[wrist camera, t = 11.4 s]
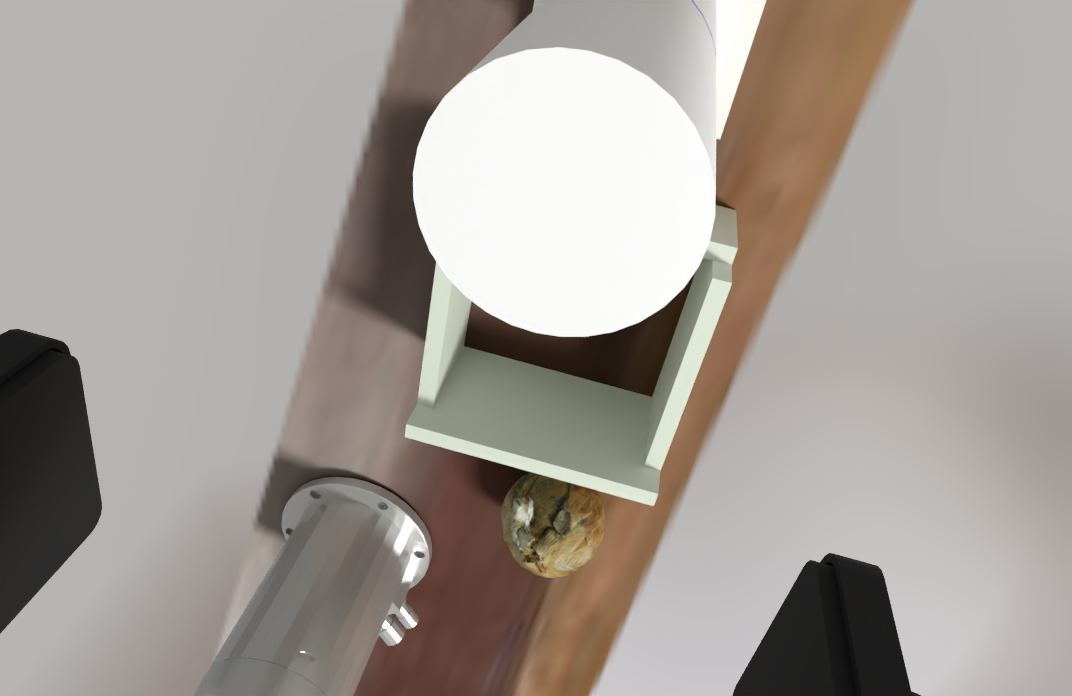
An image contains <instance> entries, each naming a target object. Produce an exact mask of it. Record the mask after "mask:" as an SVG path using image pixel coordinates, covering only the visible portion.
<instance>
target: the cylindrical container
mask: <svg viewBox="0 0 1072 696" xmlns="http://www.w3.org/2000/svg"><path fill="white" fill-rule="evenodd" d="M716 57H717V0H545V1H543V2H542V3H541V4H540V5H539V6H538V7H537V8H536V9H535V10H534V11H533V12H532V13H531V14H530V15H529V16H527V17H526V18H525V19H524V20H523V21H522V22H521V23H520V24H519V25H518V26H517V27H516V28H515V29H514V30H513V31H511V32H510V33H509V34H508V35H507V36H506V37H505V38H504V39H503V40H502V41H501V42H500V43H499V44H498V45H497V46H496V47H495V48H494V49H493V50H492V51H491V52H490V53H489V54H488V55H487V56H486V57H485V58H484V59H483V60H482V61H481V62H480V63H479V64H477V65H476V66H475V67H474V68H473V69H472V70H471V71H470V72H469V73H468V74H467V75H466V76H465V77H464V78H463V79H462V80H461V81H460V82H459V83H458V84H457V85H456V86H455V87H454V88H453V89H452V90H451V91H450V92H449V93H448V94H447V95H446V96H445V97H444V98H443V99H442V101H441V102H440V104H439V105H438V107H437V108H436V110H435V111H434V113H433V114H432V116H431V117H430V119H429V120H428V122H427V124H426V127H425V129H424V132H423V135H422V137H421V140H420V142H419V145H418V147H417V153H416V158H415V164H414V170H413V199H414V204H415V209H416V214H417V219H418V224H419V227H420V229H421V232H422V234H423V236H424V239H425V241H426V244H427V246H428V249H429V251H430V253H431V254H432V256H433V257H434V259H435V260H436V262H437V263H438V265H439V266H440V268H441V270H442V271H443V273H444V274H445V276H446V277H447V278H448V279H449V280H450V281H451V282H452V283H453V284H454V285H455V286H456V287H457V288H458V289H459V290H460V291H461V292H462V293H463V295H464V296H466V297H467V298H468V299H470V300H471V301H472V302H474V303H475V304H476V305H478V306H479V307H480V308H482V309H483V310H484V311H486V312H487V313H489V314H491V315H493V316H495V317H497V318H499V319H501V320H503V321H505V322H507V323H509V324H510V325H513V326H516V327H519V328H522V329H525V330H528V331H531V332H535V333H540V334H546V335H552V336H558V337H588V336H594V335H599V334H605V333H611V332H615V331H618V330H620V329H623V328H626V327H628V326H631V325H634V324H636V323H639V322H641V321H643V320H644V319H646V318H647V317H649V316H651V315H652V314H654V313H655V312H657V311H659V310H660V309H662V308H663V307H665V306H666V305H667V304H668V303H669V302H670V301H671V300H672V299H673V298H674V297H675V296H676V295H677V294H678V293H679V292H680V291H681V290H683V289H684V287H685V286H686V285H687V283H688V282H689V280H690V279H691V277H692V276H693V274H694V273H695V272H696V270H697V269H698V267H699V266H700V263H701V261H702V259H703V256H704V254H705V252H706V250H707V247H708V245H709V243H710V239H711V234H712V229H713V224H714V220H715V199H716Z"/></svg>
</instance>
